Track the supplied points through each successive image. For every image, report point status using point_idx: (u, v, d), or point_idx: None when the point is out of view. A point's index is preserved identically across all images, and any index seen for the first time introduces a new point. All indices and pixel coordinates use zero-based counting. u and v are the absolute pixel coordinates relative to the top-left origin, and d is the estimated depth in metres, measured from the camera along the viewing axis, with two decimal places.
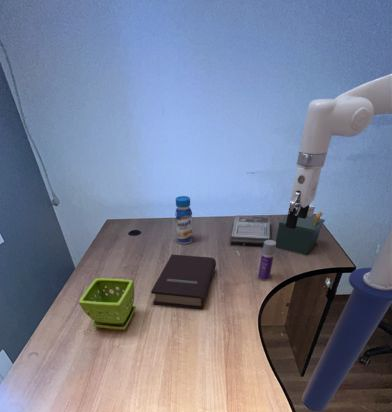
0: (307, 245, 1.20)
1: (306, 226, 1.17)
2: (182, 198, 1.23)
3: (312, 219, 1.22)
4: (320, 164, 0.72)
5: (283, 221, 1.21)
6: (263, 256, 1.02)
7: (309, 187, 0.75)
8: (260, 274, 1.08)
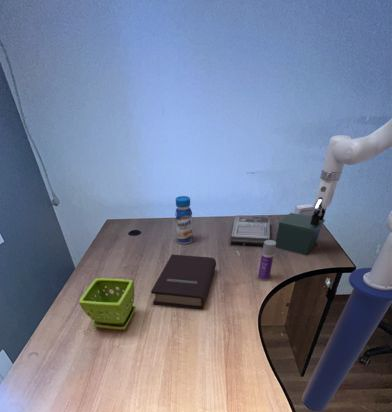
0: (307, 245, 1.20)
1: (306, 226, 1.17)
2: (182, 198, 1.23)
3: None
4: (337, 179, 1.03)
5: (283, 221, 1.21)
6: (263, 256, 1.02)
7: (328, 195, 1.06)
8: (260, 274, 1.08)
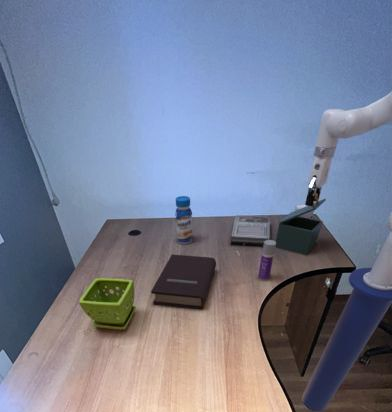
0: (307, 245, 1.20)
1: (305, 210, 1.13)
2: (182, 198, 1.23)
3: None
4: (331, 155, 1.00)
5: (282, 220, 1.21)
6: (263, 256, 1.02)
7: (323, 172, 1.02)
8: (260, 274, 1.08)
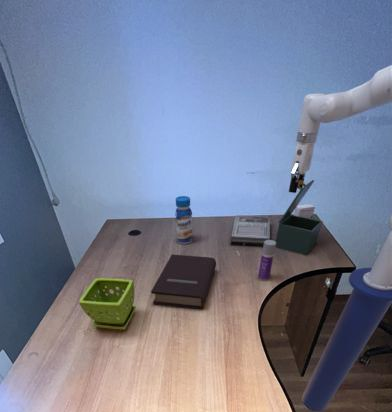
0: (307, 245, 1.20)
1: (296, 197, 1.12)
2: (182, 198, 1.23)
3: (303, 192, 1.18)
4: (313, 141, 1.00)
5: None
6: (263, 256, 1.02)
7: (305, 158, 1.03)
8: (260, 274, 1.08)
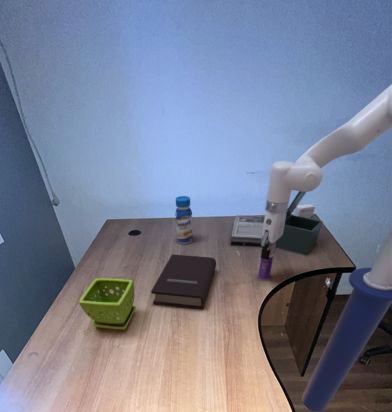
0: (307, 245, 1.20)
1: (296, 197, 1.12)
2: (182, 198, 1.23)
3: (303, 192, 1.18)
4: (283, 210, 0.89)
5: None
6: None
7: (275, 228, 0.91)
8: (260, 274, 1.08)
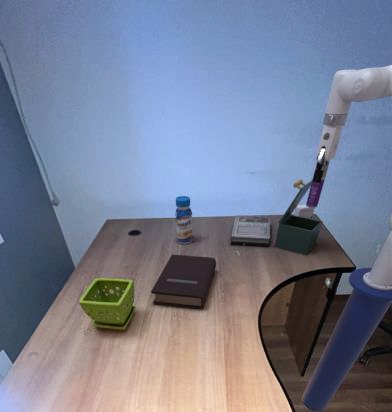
0: (307, 245, 1.20)
1: (296, 197, 1.12)
2: (182, 198, 1.23)
3: (303, 192, 1.18)
4: (342, 123, 0.91)
5: None
6: None
7: (333, 143, 0.94)
8: (309, 201, 1.11)
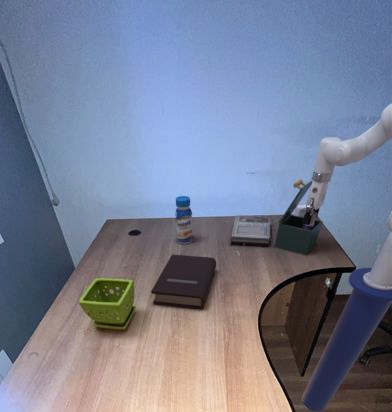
0: (307, 245, 1.20)
1: (296, 197, 1.12)
2: (182, 198, 1.23)
3: (303, 192, 1.18)
4: (328, 180, 1.05)
5: None
6: (304, 225, 1.20)
7: (320, 195, 1.08)
8: None
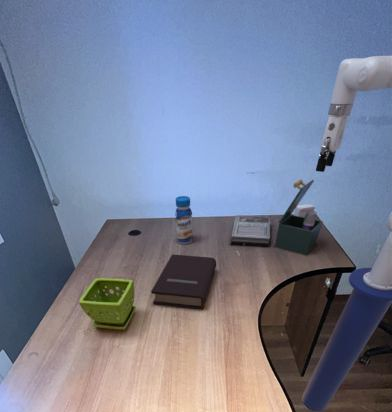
0: (307, 245, 1.20)
1: (296, 197, 1.12)
2: (182, 198, 1.23)
3: (303, 192, 1.18)
4: (347, 113, 0.91)
5: None
6: (304, 225, 1.20)
7: (337, 133, 0.93)
8: None
